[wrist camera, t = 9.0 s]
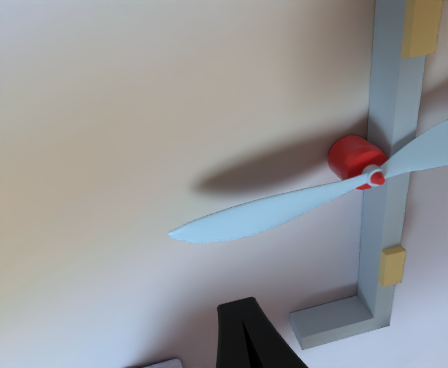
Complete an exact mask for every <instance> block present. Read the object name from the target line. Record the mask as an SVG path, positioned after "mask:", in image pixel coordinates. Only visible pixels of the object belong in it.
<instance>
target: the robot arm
mask: <svg viewBox="0 0 448 368" xmlns="http://www.w3.org/2000/svg"><path fill="white" fill-rule="evenodd" d="M217 312H218V323H219V333H218V351H217V362H216V368H308V367H307V366H306V365H305V363H304V362H303V361H302V360H301V359H300V358H299V357H298V356H297V355H296V353H295V352H294V351H293V350H292V349H291V348H290V346H289V345H288V344H287V343H286V342H285V340H284V339H283V338H282V337H281V335H280V334H279V333H278V332H277V330H276V329H275V328H274V326H273V325H272V324H271V322H270V321H269V320H268V318H267V317H266V315H265V314H264V312H263V311H262V309H261V308H260V306H259V304H258V303H257V301H256V299H255V298H254V297H248V298H245V299H241V300H237V301H233V302H229V303H225V304H221V305H219V306H218V307H217ZM143 368H183V367H182V364H181V361H180V360H179V359H173V360H169V361H165V362H162V363H158V364H154V365H151V366H147V367H143Z"/></svg>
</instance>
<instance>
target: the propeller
mask: <svg viewBox="0 0 448 368" xmlns="http://www.w3.org/2000/svg"><path fill="white" fill-rule="evenodd" d="M328 165H329V167H330V169H331V170H332V171H333V172H334V173H335V174H336V175H337V176H338V177H339V178H340V179H341V180H342V181H338V182H334V183H329V184H324V185H320V186H315V187H310V188H306V189H301V190H296V191H292V192H287V193H283V194H279V195H274V196H270V197H266V198H262V199H258V200H255V201H251V202H247V203H244V204H241V205H237V206H234V207H231V208H228V209H225V210H222V211H219V212H216V213H213V214H210V215H207V216H205V217H202V218H199V219H196V220H194V221H191V222H189V223H187V224H184V225H182V226H180V227H178V228H176V229H175V230H173V231H171V232H169V233H168V234H169V236H170V238H172V239H177V240H182V241H186V242H192V243H207V242H220V241H227V240H233V239H238V238H243V237H247V236H251V235H255V234H258V233H261V232H263V231H266V230H269V229H271V228H274V227H276V226H278V225H281V224H283V223H285V222H287V221H289V220H291V219H293V218H296V217H298V216H300V215H302V214H304V213H306V212H308V211H310V210H312V209H314V208H316V207H318V206H320V205H322V204H324V203H326V202H329V201H331V200H333V199H335V198H337V197H339V196H341V195H344V194H346V193H348V192H350V191H351V190H353V189H361V190H365V189H369V188H372V187H376V186H379V185H382V184H383V183H384V182H385V179H386V178H389V177H392V176H395V175H398V174H402V173H406V172H412V171H418V170H425V169H430V168H436V167H441V166H446V165H448V120H445V121H443V122H441V123H439V124H437V125H435V126H434V127H432V128H431V129H429V130H428V131H426V132H424V133H423V134H421V135H420V136H418V137H417V138H416V139H414V140H413V141H411V142H410V143H409V144H407V145H406V146H405V147H403V148H402V149H401V150H400V151H398V152H397V153H396V154H395V155H393V156H392V157H391V158H390V159H389V160H387V158H386V156H385V154H384V152H383V151H382V150H381V149H380V148H378V147H377V146H375V145H373V144H372V143H370V142H369V141H367V140H365V139H364V138H362V137H360V136H357V135H350V136H346V137H343V138H341V139H340V140H338V141H337V142H336V143H335V144H334V145H333V146H332V148H331V149H330V152H329V154H328Z"/></svg>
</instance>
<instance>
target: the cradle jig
mask: <svg viewBox="0 0 448 368" xmlns="http://www.w3.org/2000/svg"><path fill="white" fill-rule="evenodd" d="M442 4H443V0H376V5H375V21H374V37H373V53H372V68H371V84H370V100H369V116H368V131H367V141H369V142H370V143H372V144H373V145H375V146H377V147H378V148H380V149H381V150H382V151H383V152H384V154H385V156H386V158H387V160H389V159H390V158H391V157H392V156H393V155H395V154H396V153H397V152H398V151H400V150H401V149H402V148H403V147H405V146H406V145H407V144H409V143H410V142H411V141H413V140H414V139H415V134H416V126H417V119H418V111H419V104H420V97H421V89H422V82H423V75H424V67H425V60H426V55H429V54H434V53H435V51H436V44H437V38H438V31H439V24H440V17H441V11H442ZM409 178H410V172H406V173H402V174H398V175H395V176H392V177H389V178H386V179H385V182H384V183H383V184H382V185H379V186H376V187H372V188H369V189H365V190H364V195H363V210H362V226H361V242H360V258H359V274H358V289H357V296H353V297H349V298H345V299H342V300H338V301H334V302H330V303H327V304H323V305H319V306H315V307H311V308H308V309H304V310H300V311H296V312H293V313H290V321H291V327H292V329H293V331H294V333H295V335H296V338H297V340H298V342H299V344H300V346H301V349H302V350H304V349H308V348H312V347H315V346H319V345H322V344H326V343H329V342H333V341H337V340H340V339H344V338H347V337H351V336H354V335H358V334H362V333H365V332H369V331H372V330H376V329H379V328H383V327H387V326H389V325H390V318H391V311H392V303H393V296H394V289H395V284H397V283H401V282H402V275H403V268H404V262H405V255H406V250H405V249H404V248H402V247H401V246H400V244H401V237H402V230H403V222H404V215H405V207H406V200H407V193H408V185H409Z"/></svg>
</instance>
